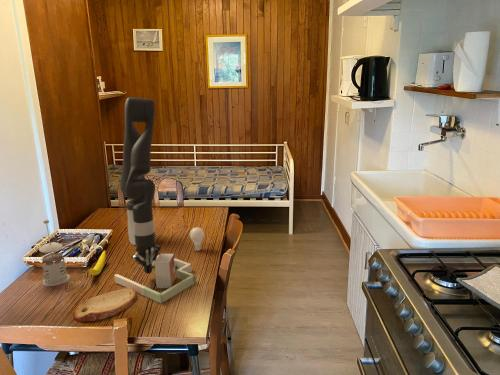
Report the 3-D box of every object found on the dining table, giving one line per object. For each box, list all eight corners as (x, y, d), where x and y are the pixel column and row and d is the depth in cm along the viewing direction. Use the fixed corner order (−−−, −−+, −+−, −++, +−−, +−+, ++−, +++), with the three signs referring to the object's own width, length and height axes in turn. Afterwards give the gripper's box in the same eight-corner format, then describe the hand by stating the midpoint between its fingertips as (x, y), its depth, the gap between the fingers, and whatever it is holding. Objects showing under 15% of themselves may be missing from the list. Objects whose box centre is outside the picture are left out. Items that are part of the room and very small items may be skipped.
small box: (171, 288, 142) (169, 262, 139) (156, 288, 142) (154, 262, 139) (176, 278, 150) (174, 253, 147) (162, 277, 150) (159, 253, 147)
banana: (109, 260, 165) (107, 247, 163) (94, 283, 147) (92, 268, 145) (102, 261, 165) (101, 247, 163) (87, 283, 147) (84, 268, 145)
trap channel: (115, 282, 147) (114, 275, 146) (160, 259, 165) (160, 253, 164) (161, 303, 133) (160, 295, 132) (205, 276, 151) (205, 269, 150)
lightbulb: (207, 248, 175) (206, 226, 172) (201, 254, 170) (199, 231, 167) (194, 246, 177) (193, 224, 174) (188, 252, 172) (186, 229, 169)
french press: (42, 288, 144) (30, 226, 137) (42, 275, 154) (31, 216, 147) (70, 282, 148) (60, 221, 141) (69, 269, 158) (59, 212, 151)
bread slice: (140, 292, 140) (139, 283, 139) (124, 322, 123) (123, 312, 122) (91, 293, 141) (90, 284, 140) (68, 323, 123) (67, 313, 122)
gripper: (151, 223, 151) (155, 263, 156) (123, 234, 141) (128, 277, 145) (164, 227, 147) (168, 268, 151) (136, 239, 136) (141, 282, 141)
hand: (148, 272), depth 148 cm, fingers closed
